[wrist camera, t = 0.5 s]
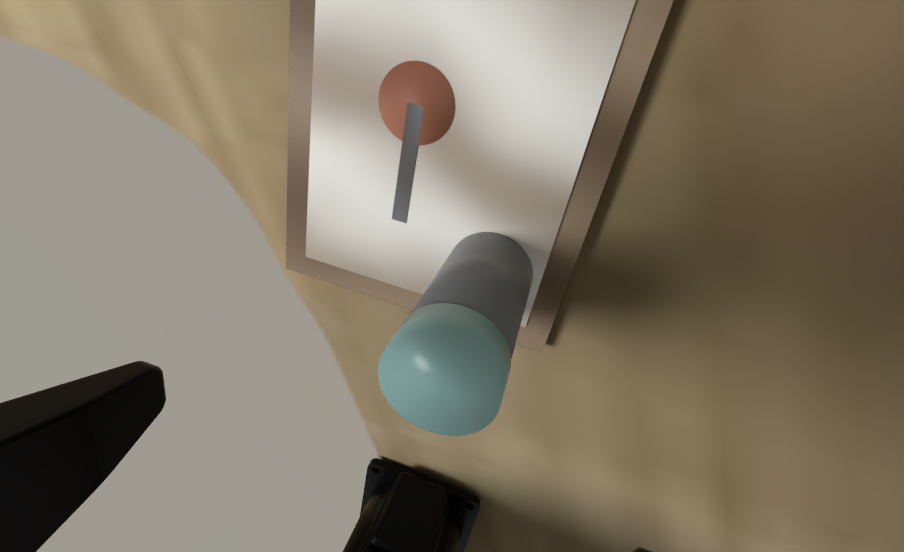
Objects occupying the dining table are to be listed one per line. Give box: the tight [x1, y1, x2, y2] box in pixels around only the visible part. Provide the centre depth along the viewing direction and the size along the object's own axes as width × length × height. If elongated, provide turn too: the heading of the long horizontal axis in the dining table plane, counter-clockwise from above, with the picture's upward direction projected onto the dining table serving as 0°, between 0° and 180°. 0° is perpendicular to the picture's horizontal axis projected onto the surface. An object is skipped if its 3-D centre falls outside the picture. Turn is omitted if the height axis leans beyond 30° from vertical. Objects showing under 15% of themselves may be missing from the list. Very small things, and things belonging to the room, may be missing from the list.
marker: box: [378, 232, 533, 436], centre depth 16 cm, size 4×4×7 cm
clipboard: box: [286, 0, 674, 352], centre depth 15 cm, size 20×12×2 cm, turn 169°
